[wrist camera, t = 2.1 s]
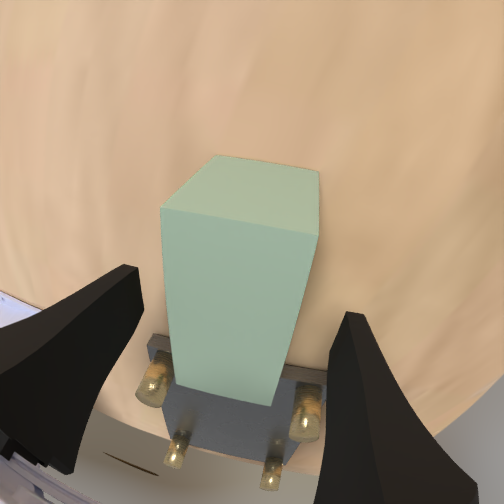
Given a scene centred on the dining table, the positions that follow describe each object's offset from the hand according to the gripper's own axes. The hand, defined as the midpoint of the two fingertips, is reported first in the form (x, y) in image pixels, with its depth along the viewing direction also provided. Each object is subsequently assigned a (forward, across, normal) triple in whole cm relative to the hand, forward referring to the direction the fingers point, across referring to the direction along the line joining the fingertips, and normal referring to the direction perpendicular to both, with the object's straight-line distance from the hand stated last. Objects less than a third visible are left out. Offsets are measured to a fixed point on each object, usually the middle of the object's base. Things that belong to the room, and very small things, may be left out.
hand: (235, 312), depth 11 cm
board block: (+4, 0, 0) cm, 4 cm away
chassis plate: (+4, 0, +15) cm, 15 cm away
